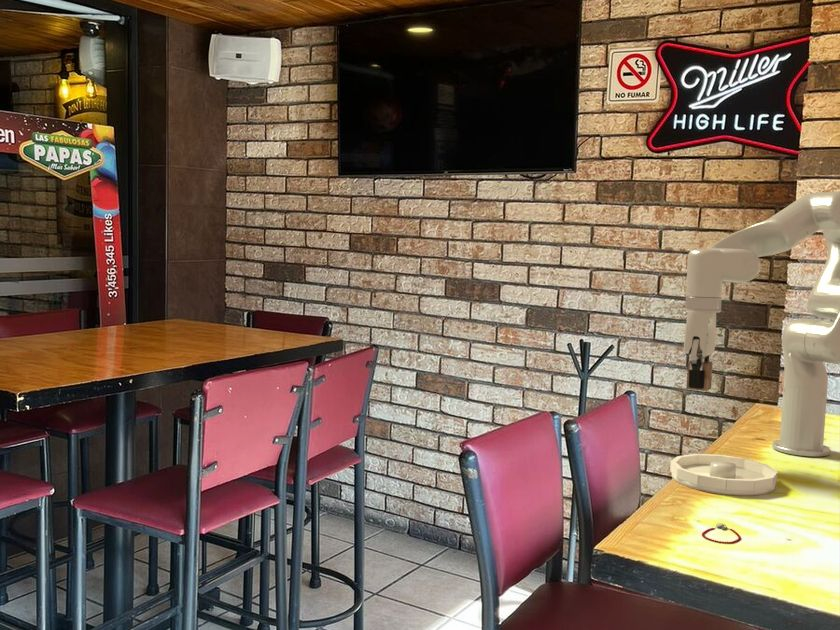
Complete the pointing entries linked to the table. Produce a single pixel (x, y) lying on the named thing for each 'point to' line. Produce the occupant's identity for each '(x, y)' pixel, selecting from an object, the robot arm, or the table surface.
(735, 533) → the red cord bracelet
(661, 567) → the table surface
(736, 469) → the dish
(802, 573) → the table surface
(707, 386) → the wooden brick
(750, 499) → the table surface
